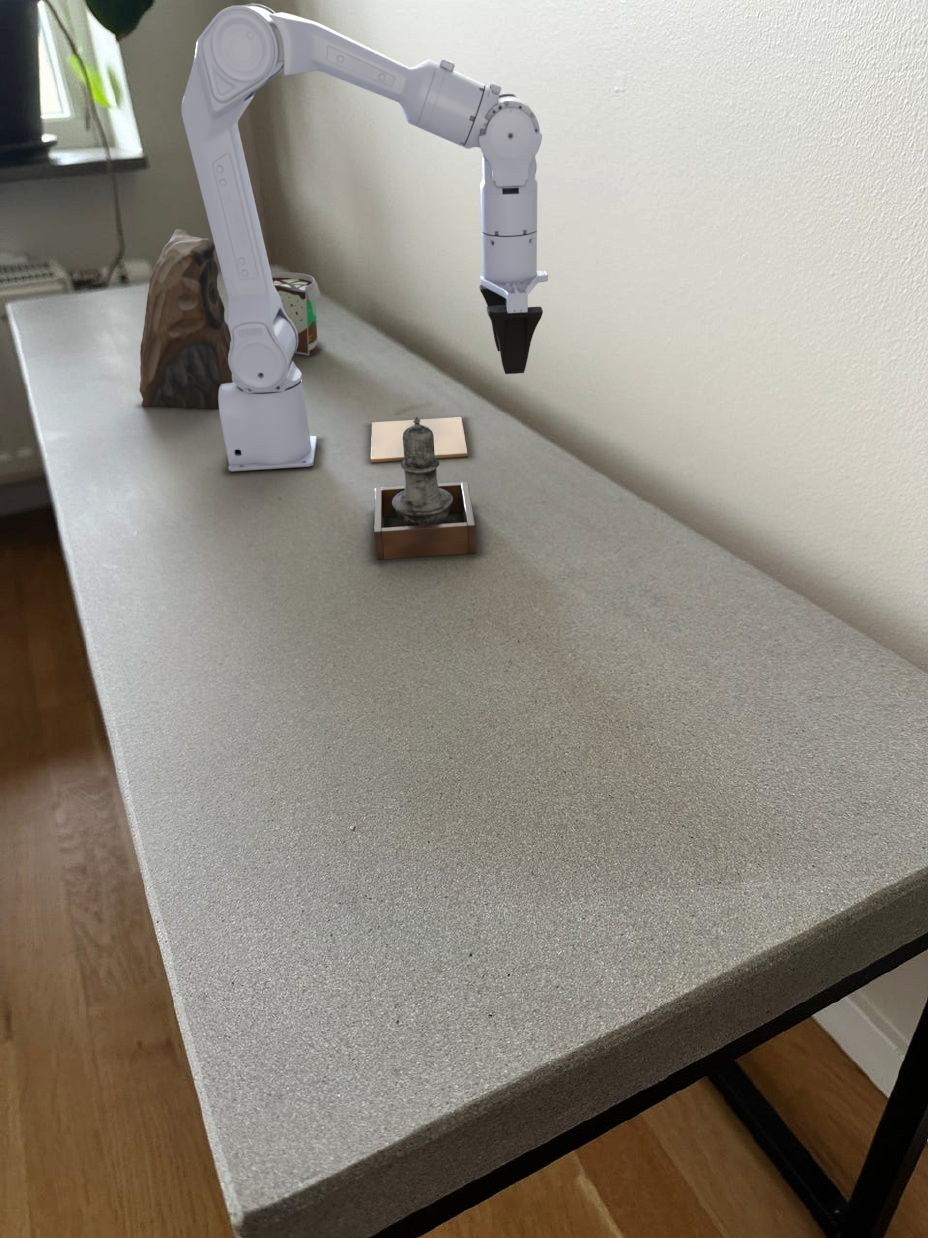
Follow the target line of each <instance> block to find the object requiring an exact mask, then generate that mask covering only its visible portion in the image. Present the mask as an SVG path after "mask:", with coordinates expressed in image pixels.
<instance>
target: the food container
mask: <svg viewBox="0 0 928 1238" xmlns="http://www.w3.org/2000/svg"><path fill="white" fill-rule="evenodd" d="M271 275H272V280H273V284H274V286H275V288H276V290H277V292H278V293H279V295H280V297H281V300H282V305H283V308H284V311H285V313H286V314H287V316H288V317H289V319H290V320H291V321H292V322H293V324H294V326H295V327H296V330H297V333H298V346H297V349H296V351H295V353H294V354H299V355H304V356H309V357H310V356H312V355H313V354H315V353H316V352H317V351H318V323H317V322H318V321H317V299H318V298H319V297H320V296H321V291H320V288H319V285H318V283H317V281H316V280H315V278H314V277H313V276H312V275H309V274H306V273H301V272H271Z"/></svg>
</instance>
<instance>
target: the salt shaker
mask: <svg viewBox="0 0 928 1238" xmlns="http://www.w3.org/2000/svg"><path fill="white" fill-rule="evenodd" d="M413 420H414V421H413V422H414V423H415V425H413V426H411V427H409V428H407V429H406V430H405V431H404V433H403V449H404V460H401V462H400V467H401V469H402V470H404V482H405V483H404V486H405V490H404V491H402V492H400V493H398V494H397V495H396V496H395V497H394V498H393V501H392V505H393V507H394V508H395V509H396V512H397V515H398V516H397V517H398V518H399V520H400V521H401V522H402V524H403V525H401V527H405V526H420V525H435V524H448V523H447V522H445V521H446V519H447V518H448V516H449V514H450V512H449V511H450V506H451V504H452V503H453V497H452V495H451V494H450V493H449V492H448V491H446V490H443V489H440V488H439V487H438V484H439V483H438V473H437V469H438V467H439V466H440V462H439V461H440V460H439V459H438V458H435V452H434V436H433V432H432V431H431V429H429V428H428V427H426V426H423V425H421V424H420V422H421V421H420V418H419V417H418V416H416V417H415V418H414V419H413Z"/></svg>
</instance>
